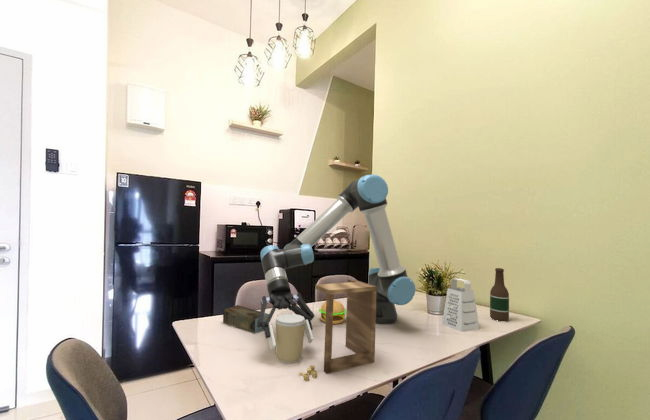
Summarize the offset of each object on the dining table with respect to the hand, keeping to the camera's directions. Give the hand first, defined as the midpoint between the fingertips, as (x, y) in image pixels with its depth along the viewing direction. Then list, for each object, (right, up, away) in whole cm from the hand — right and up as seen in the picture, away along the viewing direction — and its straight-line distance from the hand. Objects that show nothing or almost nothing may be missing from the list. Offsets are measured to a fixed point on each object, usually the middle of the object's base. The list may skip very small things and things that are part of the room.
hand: (292, 344), depth 91 cm
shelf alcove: (+14, -6, +2) cm, 15 cm away
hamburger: (+13, -8, +40) cm, 42 cm away
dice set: (+5, -5, -9) cm, 12 cm away
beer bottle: (+93, -11, +51) cm, 106 cm away
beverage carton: (-22, -6, +29) cm, 37 cm away
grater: (+69, -10, +39) cm, 79 cm away
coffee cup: (-1, -5, +2) cm, 6 cm away
